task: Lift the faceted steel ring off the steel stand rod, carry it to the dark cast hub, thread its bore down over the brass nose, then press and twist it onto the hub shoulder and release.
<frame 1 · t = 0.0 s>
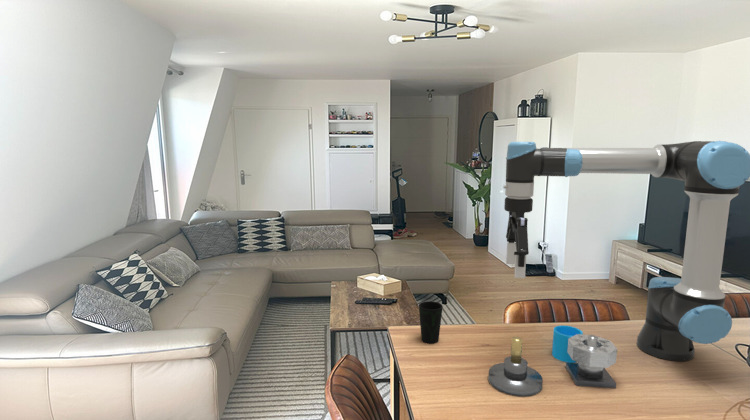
hand: (515, 270, 129), 28 cm above the table, fingers open, 13 cm apart
faceted steel ring: (591, 357, 124), point 6 cm above the table, touching stand
stand: (589, 377, 125), on the table
hub: (514, 381, 122), on the table
cup: (430, 340, 148), on the table
mug: (563, 353, 139), on the table
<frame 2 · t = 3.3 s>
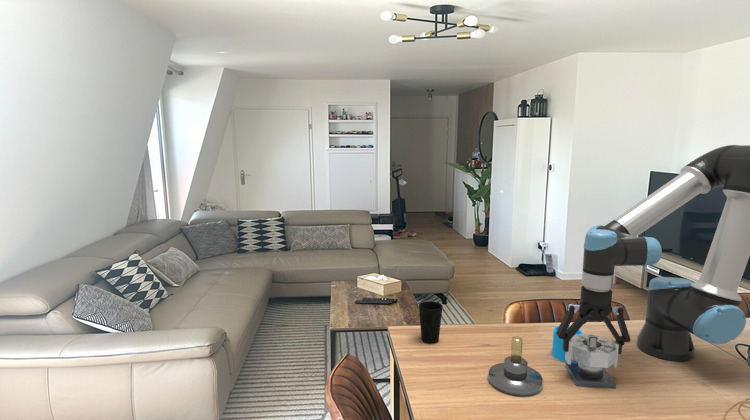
hand: (590, 363, 124), 4 cm above the table, fingers closed on faceted steel ring, 11 cm apart
faceted steel ring: (591, 357, 124), point 6 cm above the table, touching gripper, stand
everything else where it was.
when the fingers open (4 cm above the table, at t = 10.8 s): faceted steel ring stays where it is, resting on hub.
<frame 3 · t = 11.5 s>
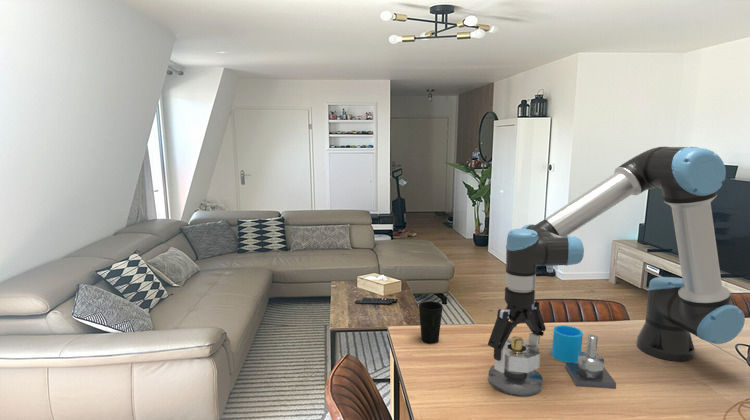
hand: (516, 363, 121), 5 cm above the table, fingers open, 13 cm apart
faceted steel ring: (516, 361, 121), point 6 cm above the table, touching hub
everything else where it was.
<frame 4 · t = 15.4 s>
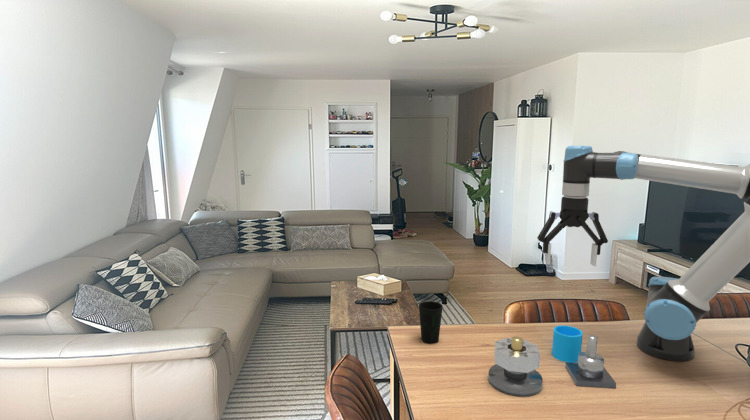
hand: (570, 264, 140), 27 cm above the table, fingers open, 13 cm apart
nothing on the table moved.
at the end: faceted steel ring 0.0 cm off-centre on the hub, point 6.0 cm above the hub's base; the gripper is holding nothing; faceted steel ring tilted 0° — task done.
